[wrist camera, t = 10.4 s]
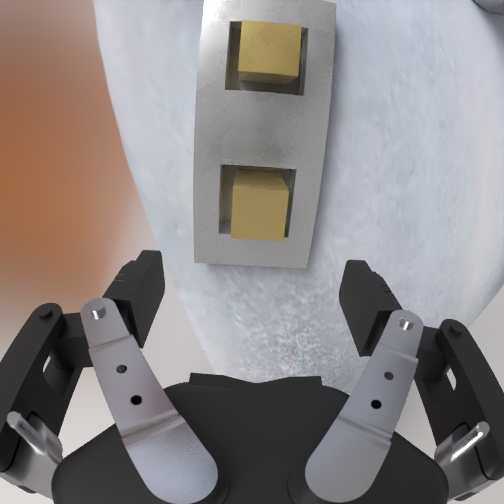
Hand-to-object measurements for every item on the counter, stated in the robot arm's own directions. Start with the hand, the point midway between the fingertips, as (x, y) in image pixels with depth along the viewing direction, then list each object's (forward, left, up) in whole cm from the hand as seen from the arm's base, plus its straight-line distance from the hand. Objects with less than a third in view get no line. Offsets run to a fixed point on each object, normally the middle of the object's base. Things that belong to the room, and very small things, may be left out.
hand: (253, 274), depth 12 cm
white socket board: (-1, -5, -19) cm, 20 cm away
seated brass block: (-1, -12, -19) cm, 22 cm away
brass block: (-1, +2, -19) cm, 19 cm away
